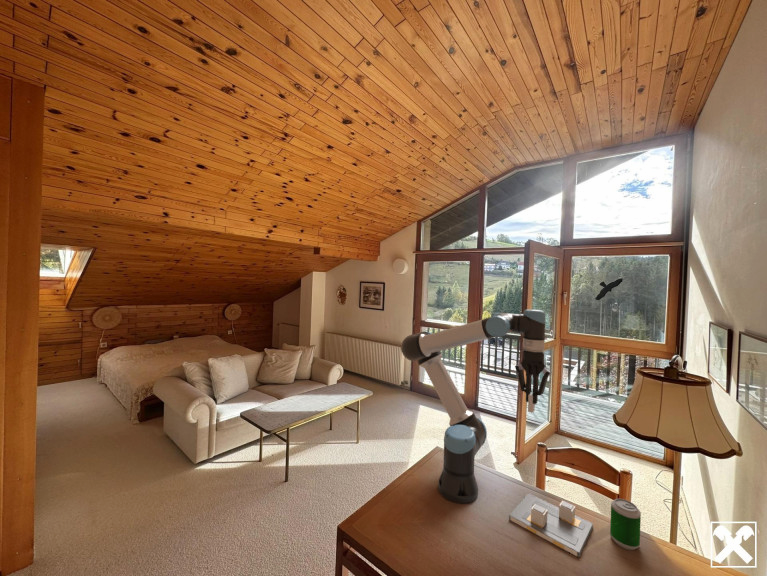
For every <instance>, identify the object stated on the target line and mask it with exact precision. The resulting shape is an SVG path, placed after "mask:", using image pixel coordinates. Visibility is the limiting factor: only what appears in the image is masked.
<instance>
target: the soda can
mask: <svg viewBox="0 0 767 576" xmlns="http://www.w3.org/2000/svg"><path fill="white" fill-rule="evenodd" d="M641 513H642V512H641V511H640V509H639V508H638V506H637V505H636V504H635V503H633V502H631V501H630V500H627V499H624V498H616V499H613V500H612V501H611V502H610V523H609V524H610V526H609V527H610V528H609V530H610V532H609V534H610V537H611V538H612V540H613V541H614V542H615V544H617V545H618V546H620V547H621V548H623V549H625V550H628V551H629V550H630V551H634V550H636V549H639V548H640V543H641V520H642V519H641V518H642V517H641V516H642V515H641Z"/></svg>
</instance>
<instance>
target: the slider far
mask: <svg viewBox="0 0 767 576" xmlns="http://www.w3.org/2000/svg"><path fill="white" fill-rule="evenodd" d="M558 507H559V517H560V518H562V519H564V520H566V521H568V522H570V523H572V522H573V521H574V519H575V515H576V505H574V504H571V503H569V502H566V501H565V500H561V502H560V503H559V505H558Z"/></svg>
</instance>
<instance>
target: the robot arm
mask: <svg viewBox="0 0 767 576" xmlns="http://www.w3.org/2000/svg"><path fill="white" fill-rule="evenodd" d="M509 333H513V334H522V348H523V349H522V355H521V356H522V357H521V358H522V360H521V362H520V363H519V364H516V365H515V366H514V368H515V370H516V372H517V375H518V382H519V387H520V390H521V391H522V392H524V394H525V402H526V403H527V412H528V413H531V414H532V413H534V412H535V409H536V407H535V406H536V405H537V403H538V396H541V395H544V392H545V389H546V385H547V382H548V380H549V379H548V378H549V377H550V375H551V374H552V371H551V370H548V368H546V365H545V352H544V351H545V343H546V342H545V337H546V312H545V311H544V310H541V309H525V310H523V313H509V312H492V314H491V317H486V318H484V319H480V320H477V321H472V322H468V323H465V324H462V325H458V326H454V327H451V328H448V329H443V330H440V331H437V332H434V333H432V332H429V331H420V332H417V333H415V334H414V333H413V334H409V335H408V336H406V337H405V338H403V340H402V342H401V345H400V349H401V353H402V355H403V357H404V358H406V359H407V360H408V361H411V362H417V363H418V366H419V367H422V368H424V370H425V372H426V374H427V376H428V378H429V380H430V382H431V384H432V386H433V388H434V389H435V391H436V393H437V395H438V398H439V399H440V401H441V403H442V405H443V407H444V409H445V411H446V413H447V415H448V416H449V423H448V424H449V426H448V427H447V428H446V429H445V432H444V436H443V465H442V466H443V467H442V471H441V473H440V476H439V478H438V481H437V482H438V483H437V489H438V492H439V494H440V495H441V496H442V497H444V499H446V500H448V501H450V502H453V503H456V504H457V503H458V504H470V503H473V502H475V501H476V500H477V498H478V495H479V487H478V482H477V479H476V476H475V459H476V458H475V456H476V455H477V453H478V452H479V450H481V448H482V446H484V444H485V442H486V440H487V435H488V431H487V427H486V425H485V423H484V422H483V421H482V419H480V418H478V417H477V416H476V415H475V413H474V411H472V410H470V409H468V407H467V406H466V403H465V402H464V400H463V398H462V396H461V394H460V392H459V390H458V388H457V387H456V385H455V383H454V381H453V378H452V377H451V375H450V373H449V372H448V369H447V368H446V365H445V364H444V362H443V360H442V356H443V353H442V352H441V351H445V350H449V349H454V348H458V347H461V346H465V345H469V344H473V343H478V342H481V341H484V340H490V339H493V338H501V337H504V336H506V335H507V334H509ZM523 369H524V370H523ZM524 372H525V375H524ZM541 373H542V374H543V375H542V378H541V381H539V380H540V374H541ZM539 382H540V383H539ZM539 384H540V385H539Z"/></svg>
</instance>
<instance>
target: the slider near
mask: <svg viewBox="0 0 767 576" xmlns="http://www.w3.org/2000/svg"><path fill="white" fill-rule="evenodd" d="M547 512H548V510H546V509H545V508H543V507H541V506H539V505H537V504H535V505H534V506H533V507H532V508H531V521H532V522H534V523H536V524H538V525H540V526H542V527H544V526H545V524H546V523H547Z"/></svg>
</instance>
